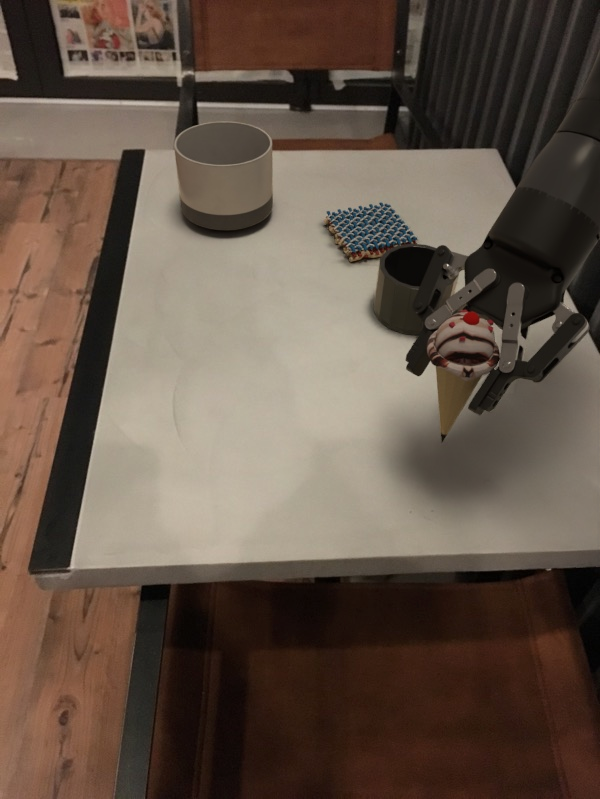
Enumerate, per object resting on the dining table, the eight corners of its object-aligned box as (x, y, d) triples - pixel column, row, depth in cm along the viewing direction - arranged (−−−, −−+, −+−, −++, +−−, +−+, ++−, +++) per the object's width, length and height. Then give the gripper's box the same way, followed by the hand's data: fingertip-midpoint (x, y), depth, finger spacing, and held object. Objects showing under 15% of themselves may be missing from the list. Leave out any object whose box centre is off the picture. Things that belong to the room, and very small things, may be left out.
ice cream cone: (430, 475, 60) (460, 344, 49) (398, 430, 63) (419, 299, 53) (485, 454, 61) (525, 324, 51) (450, 412, 65) (481, 282, 54)
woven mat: (349, 265, 89) (350, 252, 87) (321, 223, 96) (321, 210, 94) (421, 252, 91) (424, 239, 90) (389, 212, 98) (391, 199, 97)
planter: (183, 241, 92) (175, 168, 84) (180, 193, 101) (172, 123, 93) (278, 235, 93) (278, 163, 86) (267, 188, 102) (266, 119, 95)
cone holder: (458, 302, 84) (469, 258, 79) (432, 344, 78) (442, 299, 74) (391, 280, 87) (398, 236, 82) (361, 318, 81) (366, 273, 77)
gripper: (470, 156, 54) (357, 341, 56) (644, 228, 47) (506, 435, 49) (494, 195, 60) (392, 358, 63) (650, 262, 53) (528, 444, 56)
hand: (443, 391), depth 56 cm, fingers closed on ice cream cone, 5 cm apart
